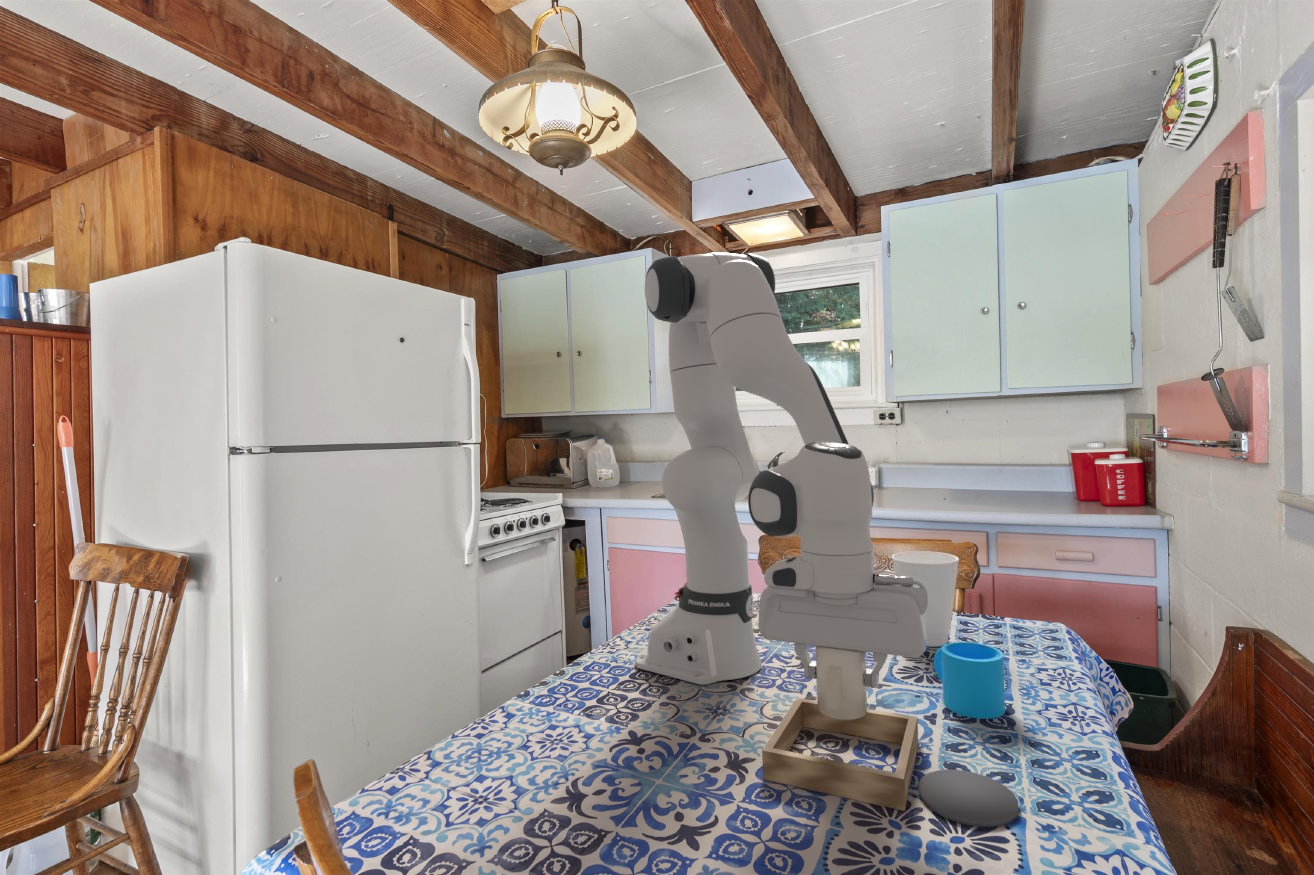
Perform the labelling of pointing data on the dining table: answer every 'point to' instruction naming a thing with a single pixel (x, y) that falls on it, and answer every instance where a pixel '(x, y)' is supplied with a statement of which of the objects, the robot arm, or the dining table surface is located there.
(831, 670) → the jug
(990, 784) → the grey oval disc
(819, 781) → the holder
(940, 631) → the cup
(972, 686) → the mug
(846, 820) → the dining table surface
